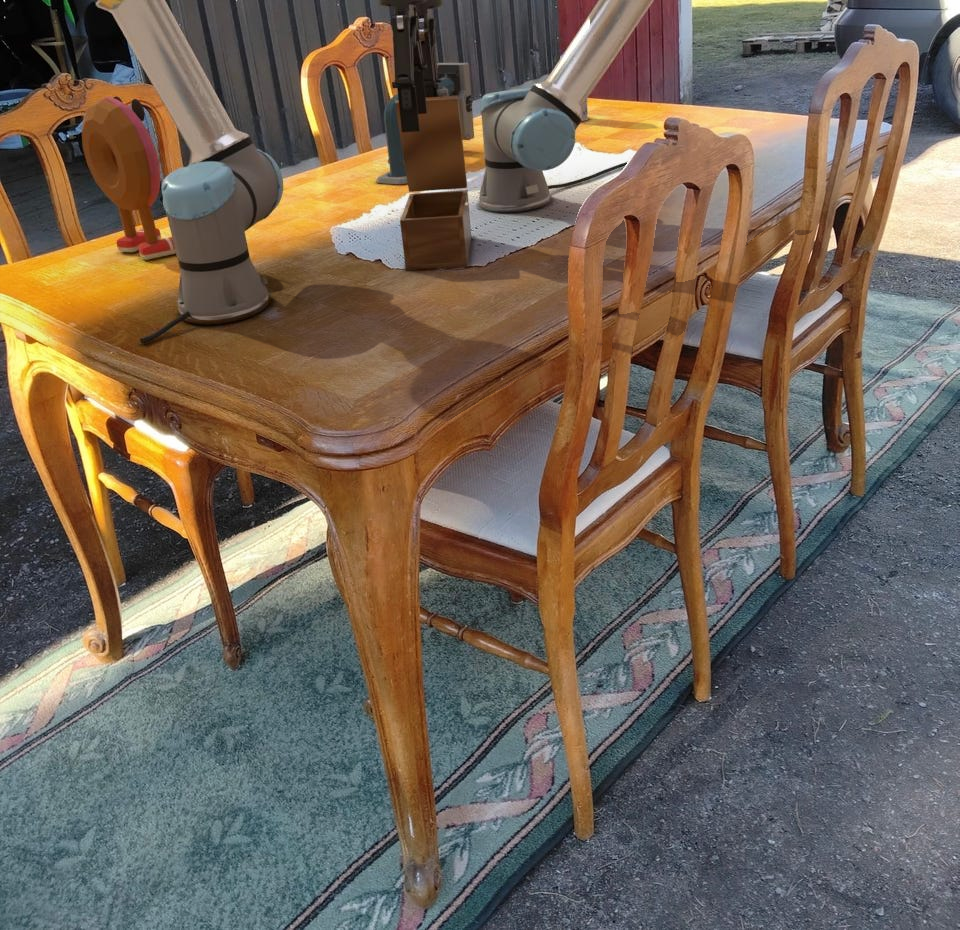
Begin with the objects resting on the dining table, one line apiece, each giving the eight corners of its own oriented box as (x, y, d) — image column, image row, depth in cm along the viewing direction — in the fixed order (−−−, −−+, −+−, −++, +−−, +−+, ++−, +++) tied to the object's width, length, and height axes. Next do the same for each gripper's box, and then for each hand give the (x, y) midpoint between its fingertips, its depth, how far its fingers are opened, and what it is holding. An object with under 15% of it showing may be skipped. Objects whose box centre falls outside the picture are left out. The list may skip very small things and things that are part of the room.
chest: (467, 266, 176) (462, 216, 171) (405, 270, 176) (399, 220, 172) (471, 236, 191) (467, 189, 186) (414, 240, 191) (409, 193, 187)
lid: (457, 98, 172) (458, 74, 177) (394, 103, 172) (398, 79, 178) (467, 188, 185) (468, 163, 191) (409, 192, 186) (411, 167, 192)
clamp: (404, 184, 229) (393, 89, 218) (373, 182, 232) (361, 89, 222) (475, 149, 254) (468, 62, 243) (446, 148, 258) (439, 62, 247)
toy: (201, 251, 195) (166, 95, 180) (157, 266, 189) (116, 105, 173) (147, 235, 208) (109, 88, 193) (104, 248, 202) (61, 97, 187)
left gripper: (417, -20, 134) (432, 138, 145) (431, -33, 155) (443, 105, 166) (364, -17, 134) (382, 141, 145) (385, -30, 156) (400, 108, 166)
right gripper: (438, -15, 163) (450, 129, 175) (444, -22, 176) (455, 113, 188) (394, -11, 164) (409, 132, 176) (403, -19, 177) (417, 115, 189)
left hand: (414, 122), depth 155 cm, fingers open, 13 cm apart
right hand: (433, 122), depth 182 cm, fingers closed on lid, 2 cm apart
